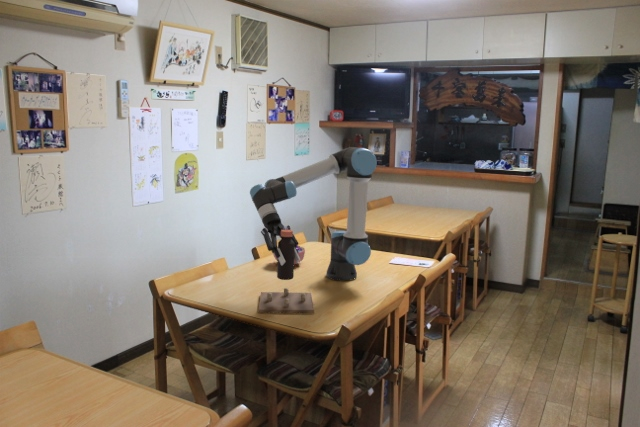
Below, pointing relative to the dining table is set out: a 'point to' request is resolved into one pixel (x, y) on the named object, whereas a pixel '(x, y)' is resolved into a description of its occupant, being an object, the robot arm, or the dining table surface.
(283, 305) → the peg stand
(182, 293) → the dining table surface
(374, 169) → the robot arm
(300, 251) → the cell model
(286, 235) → the vinegar
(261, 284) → the dining table surface
